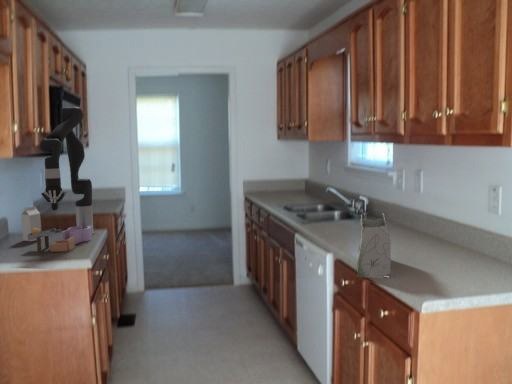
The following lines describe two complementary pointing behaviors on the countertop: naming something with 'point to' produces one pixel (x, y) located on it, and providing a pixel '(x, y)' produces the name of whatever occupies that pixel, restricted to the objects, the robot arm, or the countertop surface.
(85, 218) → the robot arm
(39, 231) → the ball
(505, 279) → the countertop surface
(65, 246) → the cup
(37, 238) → the stand
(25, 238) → the milk carton
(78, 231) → the clip
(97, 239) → the countertop surface
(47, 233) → the tipping track
